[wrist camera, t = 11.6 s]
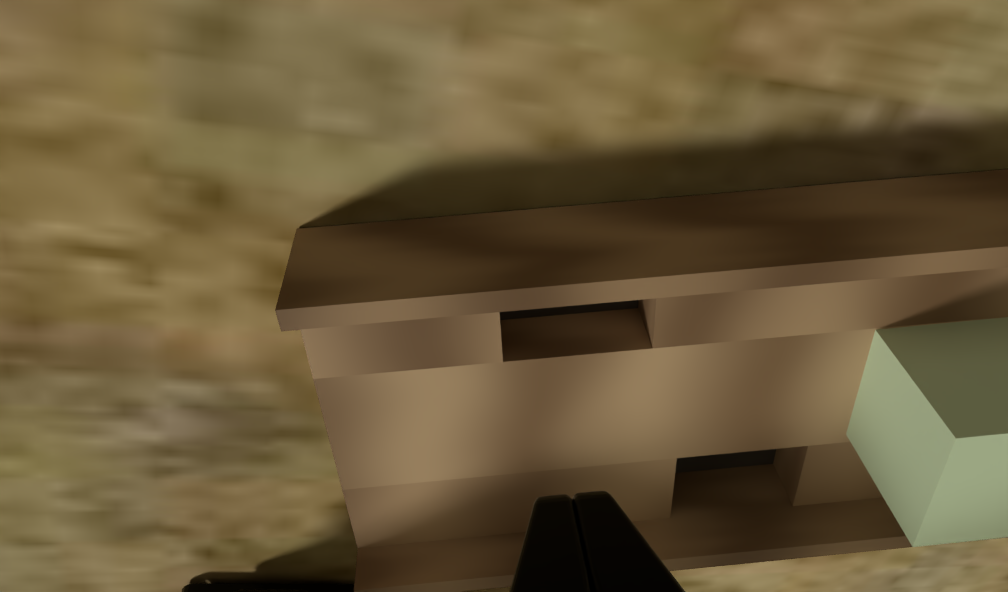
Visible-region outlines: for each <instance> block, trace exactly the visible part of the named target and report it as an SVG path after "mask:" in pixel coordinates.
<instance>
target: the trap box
mask: <svg viewBox="0 0 1008 592" xmlns="http://www.w3.org/2000/svg"><path fill="white" fill-rule="evenodd" d="M275 311H276V315H277V318H278V322H279V325H280V329H281V331H291V330H301V334H302V338H303V342H304V346H305V349H306V353H307V357H308V361H309V365H310V368H311V372H312V376H313V380H314V384H315V387H316V391H317V395H318V399H319V403H320V407H321V410H322V414H323V418H324V422H325V426H326V429H327V433H328V437H329V441H330V445H331V449H332V452H333V456H334V460H335V464H336V468H337V471H338V475H339V479H340V483H341V487H342V491H343V494H344V498H345V502H346V506H347V510H348V513H349V517H350V521H351V525H352V529H353V533H354V536H355V540H356V544H357V548H358V550H357V561H356V573H355V584H354V592H462V591H472V590H482V589H493V588H503V587H511V585H512V581H513V577H514V574H515V570H516V566H517V563H518V559H519V555H520V552H521V548H522V544H523V541H524V537H525V533H526V530H527V526H528V522H529V519H530V515H531V511H532V508H533V504H534V502H535V500H536V499H537V498H538V497H541V496H550V495H560V494H566V495H569V496H570V497H571V498H573V496H574V495H575V494H576V493H581V492H592V491H606V492H608V493H609V494H611V495H612V497H613V498H614V499H615V500H616V502H617V503H618V504H619V506H620V507H621V508H622V510H623V511H624V512H625V513H626V515H627V516H628V517H629V519H630V520H631V521H632V523H633V524H634V525H635V527H636V528H637V529H638V531H639V532H640V533H641V535H642V536H643V537H644V538H645V540H646V541H647V542H648V544H649V545H650V546H651V548H652V549H653V550H654V552H655V553H656V554H657V556H658V557H659V558H660V559H661V561H662V562H663V563H664V565H665V566H666V567H667V569H668V570H669V571H674V570H684V569H695V568H705V567H715V566H725V565H735V564H745V563H755V562H765V561H775V560H785V559H795V558H806V557H816V556H826V555H836V554H846V553H856V552H866V551H876V550H886V549H896V548H907V547H912V545H911V544H910V542H909V540H908V539H907V537H906V535H905V533H904V532H903V530H902V528H901V527H900V525H899V523H898V522H897V520H896V518H895V516H894V515H893V513H892V511H891V510H890V508H889V506H888V505H887V503H886V501H885V500H884V498H883V496H882V494H881V493H880V491H879V489H878V488H877V486H876V484H875V483H874V481H873V479H872V477H871V476H870V474H869V472H868V471H867V469H866V467H865V466H864V464H863V462H862V461H861V459H860V457H859V455H858V454H857V452H856V450H855V449H854V447H853V445H852V444H851V442H850V440H849V438H848V437H847V435H846V432H847V429H848V425H849V422H850V418H851V415H852V411H853V407H854V404H855V400H856V397H857V393H858V390H859V386H860V383H861V379H862V375H863V372H864V368H865V365H866V361H867V358H868V354H869V351H870V347H871V343H872V340H873V336H874V333H875V330H878V329H888V328H899V327H909V326H920V325H930V324H940V323H951V322H961V321H972V320H982V319H993V318H1003V317H1008V169H1003V170H991V171H979V172H967V173H956V174H944V175H932V176H920V177H908V178H896V179H884V180H872V181H860V182H848V183H836V184H824V185H813V186H801V187H789V188H777V189H765V190H753V191H741V192H729V193H717V194H705V195H693V196H681V197H669V198H658V199H646V200H634V201H622V202H610V203H598V204H586V205H574V206H562V207H550V208H538V209H526V210H515V211H503V212H491V213H479V214H467V215H455V216H443V217H431V218H419V219H407V220H395V221H383V222H372V223H360V224H348V225H336V226H324V227H312V228H300V229H297V230H296V234H295V238H294V241H293V245H292V249H291V253H290V256H289V260H288V264H287V268H286V272H285V275H284V279H283V283H282V287H281V290H280V294H279V298H278V302H277V305H276V309H275ZM1005 538H1008V537H1005ZM995 539H997V538H995ZM985 540H987V539H985ZM976 541H977V540H976ZM966 542H967V541H966ZM956 543H957V542H956Z"/></svg>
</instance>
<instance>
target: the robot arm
mask: <svg viewBox="0 0 1008 592" xmlns="http://www.w3.org/2000/svg"><path fill="white" fill-rule="evenodd" d="M182 592H354V585H351V584H189V585H186V586H185V587H184V588H183V589H182ZM510 592H685V591H684V590H683V588H682V587H681V586H680V584H679V583H678V582H677V581H676V579H675V578H674V577H673V575H672V574H671V573H670V571H669V570H668V569H667V567H666V566H665V565H664V563H663V562H662V561H661V559H660V558H659V557H658V556H657V554H656V553H655V552H654V550H653V549H652V548H651V546H650V545H649V544H648V542H647V541H646V540H645V538H644V537H643V536H642V535H641V533H640V532H639V531H638V529H637V528H636V527H635V525H634V524H633V523H632V521H631V520H630V519H629V517H628V516H627V515H626V513H625V512H624V511H623V510H622V508H621V507H620V506H619V504H618V503H617V502H616V500H615V499H614V498H613V497H612V495H611V494H609V493H608V492H606V491H592V492H581V493H576V494H575V495H574V496H573V498H571V497H570V496H569V495H566V494H560V495H550V496H541V497H538V498H537V499H536V500H535V502H534V504H533V508H532V511H531V515H530V519H529V522H528V526H527V530H526V533H525V537H524V541H523V544H522V548H521V552H520V555H519V559H518V563H517V566H516V570H515V574H514V577H513V581H512V585H511V588H510Z"/></svg>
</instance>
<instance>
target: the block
mask: <svg viewBox="0 0 1008 592" xmlns="http://www.w3.org/2000/svg"><path fill="white" fill-rule="evenodd" d="M846 435H847V437H848V438H849V440H850V442H851V444H852V445H853V447H854V449H855V450H856V452H857V454H858V455H859V457H860V459H861V461H862V462H863V464H864V466H865V467H866V469H867V471H868V472H869V474H870V476H871V477H872V479H873V481H874V483H875V484H876V486H877V488H878V489H879V491H880V493H881V494H882V496H883V498H884V500H885V501H886V503H887V505H888V506H889V508H890V510H891V511H892V513H893V515H894V516H895V518H896V520H897V522H898V523H899V525H900V527H901V528H902V530H903V532H904V533H905V535H906V537H907V539H908V540H909V542H910V544H911V545H912V547H918V546H927V545H937V544H947V543H956V542H966V541H976V540H985V539H995V538H1005V537H1008V317H1003V318H993V319H982V320H972V321H961V322H951V323H940V324H930V325H920V326H909V327H899V328H888V329H878V330H875V333H874V336H873V340H872V343H871V347H870V351H869V354H868V358H867V361H866V365H865V368H864V372H863V375H862V379H861V383H860V386H859V390H858V393H857V397H856V400H855V404H854V407H853V411H852V415H851V418H850V422H849V425H848V429H847V432H846Z"/></svg>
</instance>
